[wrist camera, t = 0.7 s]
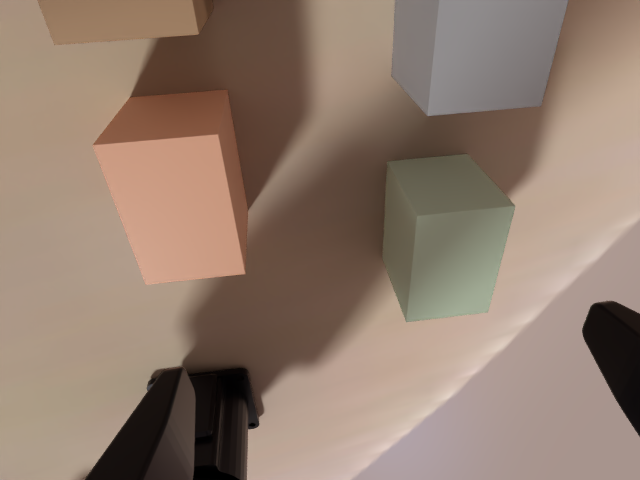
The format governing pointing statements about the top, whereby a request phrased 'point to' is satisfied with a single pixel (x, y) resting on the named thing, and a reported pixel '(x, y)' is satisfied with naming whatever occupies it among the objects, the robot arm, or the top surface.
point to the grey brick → (475, 52)
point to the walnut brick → (123, 19)
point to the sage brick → (443, 235)
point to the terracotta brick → (178, 185)
